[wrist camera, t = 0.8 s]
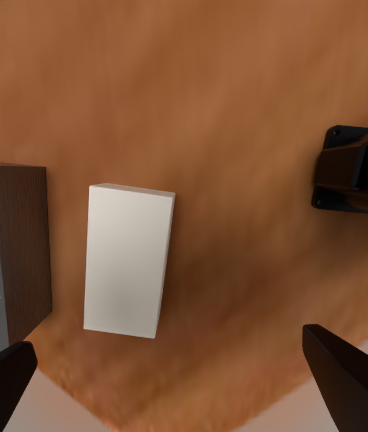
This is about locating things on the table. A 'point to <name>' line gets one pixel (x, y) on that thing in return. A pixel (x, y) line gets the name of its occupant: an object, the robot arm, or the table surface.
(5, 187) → the stop bar
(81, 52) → the table surface
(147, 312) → the white rectangular block
